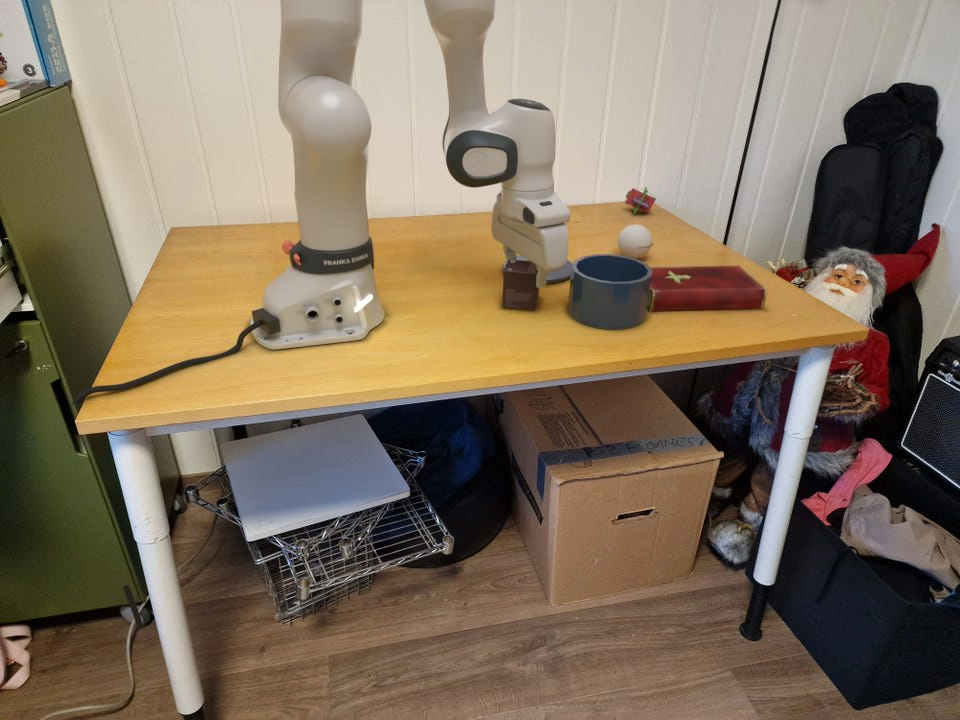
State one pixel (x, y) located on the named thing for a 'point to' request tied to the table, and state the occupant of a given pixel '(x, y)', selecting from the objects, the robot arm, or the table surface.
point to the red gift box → (639, 200)
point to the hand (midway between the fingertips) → (525, 277)
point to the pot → (609, 291)
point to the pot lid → (553, 275)
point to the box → (520, 285)
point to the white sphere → (635, 241)
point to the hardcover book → (704, 289)
